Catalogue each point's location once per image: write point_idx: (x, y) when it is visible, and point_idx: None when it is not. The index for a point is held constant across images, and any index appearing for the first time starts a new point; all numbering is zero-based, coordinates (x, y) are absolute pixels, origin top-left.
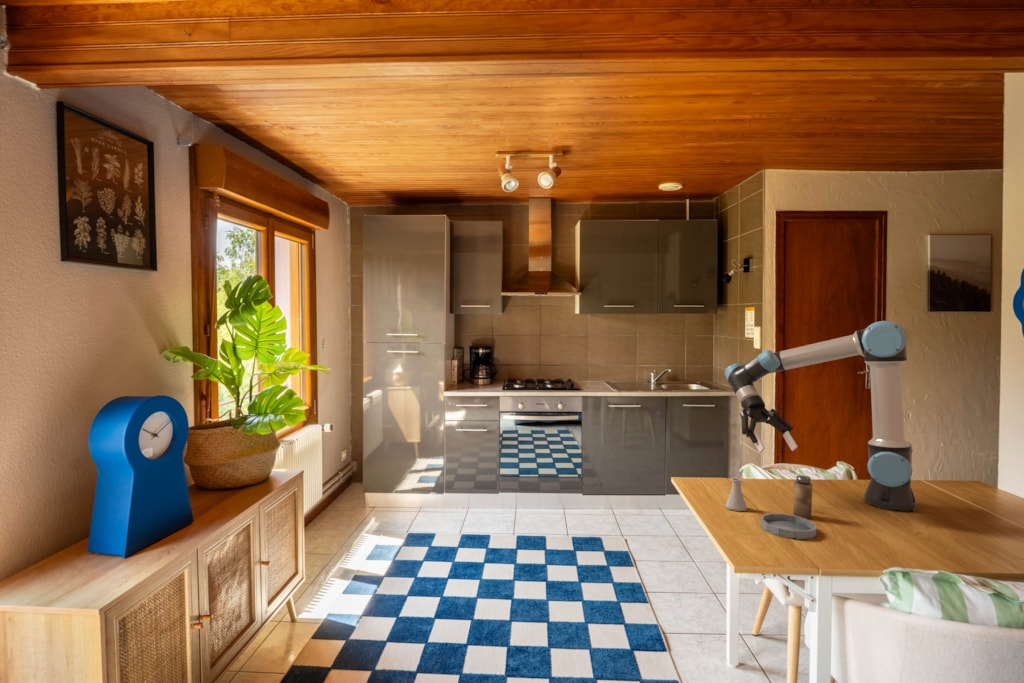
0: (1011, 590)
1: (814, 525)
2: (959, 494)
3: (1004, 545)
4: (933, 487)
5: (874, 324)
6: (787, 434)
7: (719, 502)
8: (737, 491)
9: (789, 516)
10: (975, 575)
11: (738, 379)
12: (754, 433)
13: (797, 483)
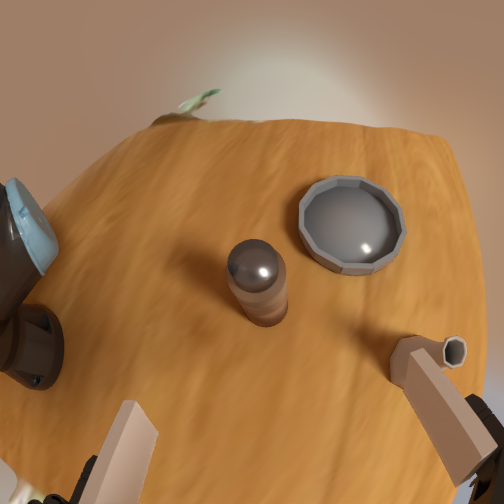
0: (187, 101)
1: (305, 199)
2: None
3: (69, 189)
4: None
5: None
6: (107, 495)
7: None
8: (439, 342)
9: (330, 256)
10: (186, 117)
11: None
12: (490, 447)
13: (281, 267)
